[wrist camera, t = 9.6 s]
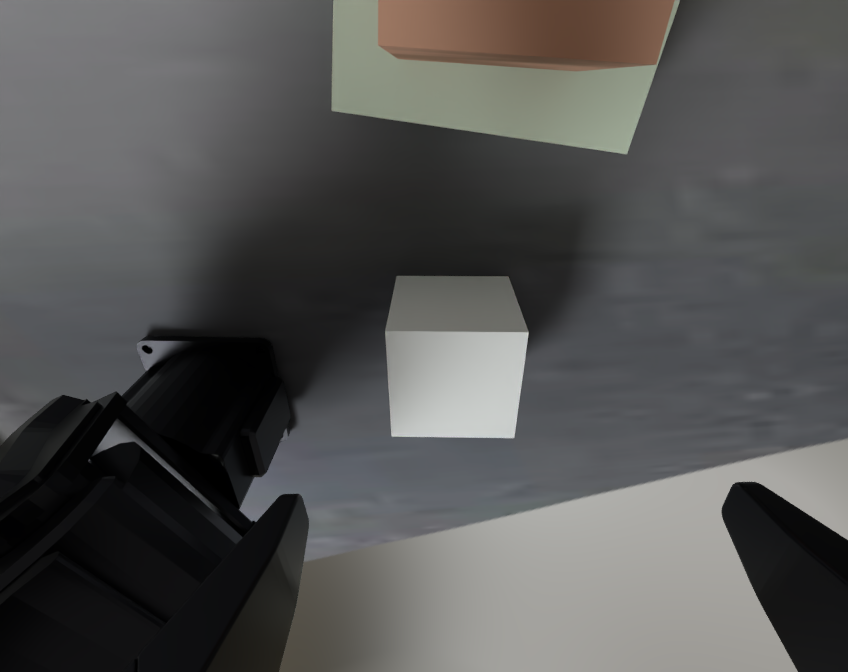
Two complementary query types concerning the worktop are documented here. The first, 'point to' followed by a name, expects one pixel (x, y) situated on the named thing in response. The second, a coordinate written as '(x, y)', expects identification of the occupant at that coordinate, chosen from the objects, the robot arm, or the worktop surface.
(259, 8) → the worktop surface
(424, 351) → the grey cube
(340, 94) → the sage base block
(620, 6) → the terracotta cube
